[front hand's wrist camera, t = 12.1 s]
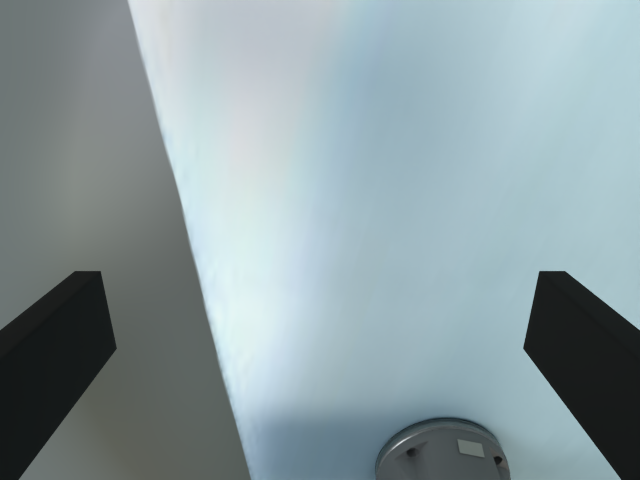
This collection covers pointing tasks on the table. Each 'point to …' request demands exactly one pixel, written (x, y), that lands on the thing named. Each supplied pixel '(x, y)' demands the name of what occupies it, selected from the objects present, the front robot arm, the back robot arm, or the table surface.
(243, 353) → the table surface
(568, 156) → the table surface
